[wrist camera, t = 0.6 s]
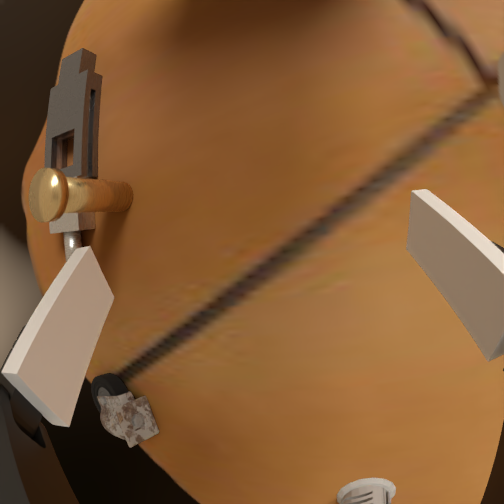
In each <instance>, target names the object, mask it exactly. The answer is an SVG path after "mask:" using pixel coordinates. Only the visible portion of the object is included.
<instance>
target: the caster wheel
mask: <svg viewBox="0 0 504 504" xmlns="http://www.w3.org/2000/svg"><path fill="white" fill-rule="evenodd" d="M91 391H92V396H93V400H94V403H95V405H96V407H97V409H98V410H99V412H100V413H101V415H100V418H101V422H102V424H103V426H104V428H105V429H106V430H107V431H108V432H110V433H111V434H113V435H114V436H117V437H119V438H122V439H126V441H127V443H128V446H129V447H130V448H131V447H133V446H135V445H137V444H139V443H141V442H143V441H145V440H147V439H149V438H150V437H152V436H154V435H156V434H158V433H159V430H158V427H157V425H156V422H155V419H154V417H153V414H152V411H151V408H150V406H149V403H148V400H147V398H146V396H143V397H140V398H138V399H134V397H133V395H132V393H131V392H130V391H128V390H127V388H126V386H125V385H124V383H123V382H122V381H121V380H120V379H119V378H118V377H117V376H116V375H114V374H111V373H107V374H103V375H100V376H97V377H95V378H94V379H93V381H92V386H91Z"/></svg>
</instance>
